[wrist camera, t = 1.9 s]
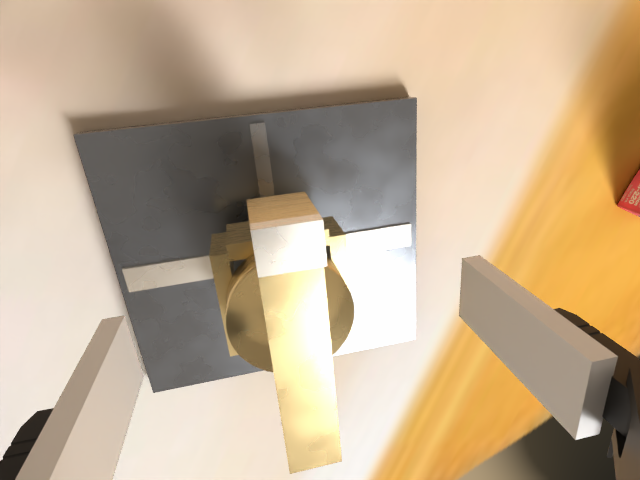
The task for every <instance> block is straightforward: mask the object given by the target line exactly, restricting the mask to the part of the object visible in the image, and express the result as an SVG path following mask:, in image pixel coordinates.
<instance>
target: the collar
mask: <svg viewBox="0 0 640 480" xmlns="http://www.w3.org/2000/svg"><path fill="white" fill-rule="evenodd" d="M246 201H247V208H248V216H249V221H247V222H240V223H233V224H226V232H223V233H217V234H212V236H211V245H210V254H209V258H210V263H211V267H212V272H213V277H214V282H215V287H216V291H217V296H218V301H219V306H220V311H221V315H222V320H223V325H224V330H225V334H226V339H227V344H228V349H229V354H230V356H236V355H239V356H240V357H241V358H243V359H244V360H245V361H246V362H248V363H249V364H251V365H253V366H255V367H257V368H259V369H262V370H265V371H269V372H274V378H275V384H276V390H277V396H278V403H279V409H280V415H281V421H282V427H283V433H284V440H285V446H286V452H287V458H288V464H289V471H290V474H292V473H296V472H300V471H304V470H308V469H312V468H316V467H320V466H324V465H328V464H333V463H337V462H341V461H342V458H341V447H340V436H339V425H338V414H337V403H336V392H335V381H334V370H333V359H332V355H333V354H335V353H336V352H337V351H338V350H339V349H340V347H341V346H342V345H343V344H344V342H345V341H346V339H347V337H348V336H349V333H353V331H352V325H353V322H354V313H355V308H354V301H353V298H352V294H351V292H350V286H349V271H348V256H347V241H346V234H345V233H344V231H343V230H342V228H341V227H340V226H339V224H338V223H337V222H336V220H335V219H334V218H333V216H330V217H324V218H322V217H321V215H320V214H319V212H318V211H317V209H316V208H315V206H314V205H313V203H312V202H311V200H310V199H309V197H308V196H307V194H306V193H305V192H298V193H290V194H283V195H276V196H269V197H262V198H254V199H247V200H246ZM242 259H245V260H244V261H243V262H242V263H241V264H240V265H239V267H238V268H237V269H236V271H235V268H234V262H233V261H236V260H242Z"/></svg>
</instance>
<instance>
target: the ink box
mask: <svg viewBox="0 0 640 480" xmlns="http://www.w3.org/2000/svg"><path fill="white" fill-rule="evenodd" d="M617 206H618V207H620V208H622V209H624V210H626V211H628V212H630V213H632V214H634V215H637V216H639V217H640V169H639V171H638V172H637V174H636V175H635V177H634V178H633V180H632V182H631V183H630V185H629V186H628V188H627V189H626V191H625V193H624V194H623V196H622V198H621V199H620V201H619V203H618V205H617Z"/></svg>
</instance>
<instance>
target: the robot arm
mask: <svg viewBox="0 0 640 480" xmlns="http://www.w3.org/2000/svg"><path fill="white" fill-rule="evenodd" d="M459 316H460V317H461V318H462V319H463V320H464V321H465V323H466V324H467V325H468V326H469V327H470V328H471V329H472V330H473V331H474V332H475V333H476V334H477V335H478V336H479V337H480V339H481V340H482V341H483V342H484V343H485V344H486V345H487V346H488V347H489V348H490V349H491V350H492V351H493V352H494V353H495V355H496V356H497V357H498V358H499V359H500V360H501V361H502V362H503V363H504V364H505V365H506V366H507V367H508V368H509V369H510V371H511V372H512V373H513V374H514V375H515V376H516V377H517V378H518V379H519V380H520V381H521V382H522V383H523V384H524V385H525V386H526V388H527V389H528V390H529V391H530V392H531V393H532V394H533V395H534V396H535V397H536V398H537V399H538V400H539V401H540V402H541V404H542V405H543V406H544V407H545V408H546V409H547V410H548V411H549V412H550V413H551V414H552V415H553V416H554V417H555V418H556V419H557V421H558V422H559V423H560V424H561V425H562V426H563V427H564V428H565V429H566V430H567V431H568V432H569V433H570V434H571V435H572V437H573V438H575V440H577V439H581V438H585V437H589V436H593V435H597V434H599V432H600V429H601V424H602V420H603V418H605V419H606V420H607V421H608V422H609V423H610V424H611V425H612V426H613V427H614V431H613V435H612V438H611V443H610V446H609V450H608V454H607V457H609V458H612V455H613V454H614V464H615V474H616V480H640V359H639V358H637V357H636V356H634V355H633V354H632V353H630V352H629V351H627V350H626V349H624V348H623V347H621V346H620V345H619V344H617V343H616V342H614V341H613V340H611V339H610V338H609V337H607V336H606V335H604V334H603V333H600V331H599V330H597V329H596V328H594V327H593V326H590V325H589V323H587V322H586V321H584V320H583V319H581V318H580V317H579V316H577V315H575V314H573V313H570V312H568V311H566V310H563V309H561V308H557V309H552V308H551V307H550V306H548V305H547V304H545V303H544V302H543V301H541V300H540V299H539V298H537V297H536V296H535V295H533V294H532V293H530V292H529V291H528V290H526V289H525V288H524V287H522V286H521V285H519V284H518V283H517V282H515V281H514V280H513V279H511V278H510V277H509V276H507V275H506V274H504V273H503V272H502V271H500V270H499V269H498V268H496V267H495V266H493V265H492V264H491V263H489V262H488V261H487V260H485V259H484V258H482V257H481V256H480V255H479V256H473V257H467V258H462V272H461V290H460V309H459ZM143 377H144V375H143V372H142V369H141V366H140V363H139V359H138V356H137V353H136V350H135V347H134V344H133V340H132V337H131V334H130V331H129V328H128V325H127V322H126V318H125V316H119V317H113V318H107V319H102V321H101V322H100V324H99V326H98V328H97V330H96V332H95V334H94V335H93V337H92V339H91V341H90V343H89V345H88V346H87V348H86V350H85V352H84V354H83V356H82V357H81V359H80V361H79V363H78V365H77V367H76V368H75V370H74V372H73V374H72V376H71V378H70V380H69V381H68V383H67V385H66V387H65V389H64V391H63V392H62V394H61V396H60V398H59V400H58V402H57V403H56V405H55V407H54V408H52V409H47V410H42V411H37V412H36V413H35V414H34V415H33V416H32V417H31V418H30V419H29V420H28V421H27V422H26V423H25V424H24V425H23V426H21V428H20V429H19V431H18V433H17V434H16V436H15V438H14V439H13V441H12V443H11V446H9V447H8V449H7V451H6V452H5V454H4V456H3V460H1V461H0V480H112V479H113V476H114V473H115V470H116V466H117V463H118V460H119V456H120V453H121V450H122V446H123V443H124V440H125V436H126V433H127V430H128V427H129V423H130V420H131V417H132V413H133V410H134V407H135V403H136V400H137V397H138V393H139V390H140V387H141V383H142V380H143Z"/></svg>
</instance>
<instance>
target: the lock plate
mask: <svg viewBox="0 0 640 480" xmlns="http://www.w3.org/2000/svg"><path fill="white" fill-rule="evenodd" d="M416 125H417V98H415V97H405V98H395V99H386V100H377V101H367V102H358V103H349V104H339V105H330V106H321V107H311V108H302V109H293V110H283V111H274V112H265V113H255V114H246V115H237V116H227V117H218V118H209V119H199V120H190V121H181V122H171V123H162V124H153V125H143V126H134V127H125V128H115V129H106V130H97V131H87V132H79V133H77V134H74V138H75V142H76V145H77V148H78V151H79V154H80V158H81V161H82V164H83V167H84V171H85V174H86V177H87V180H88V184H89V187H90V190H91V193H92V196H93V200H94V203H95V206H96V209H97V213H98V216H99V219H100V222H101V225H102V229H103V232H104V235H105V238H106V242H107V245H108V248H109V251H110V254H111V258H112V261H113V264H114V267H115V271H116V274H117V277H118V280H119V283H120V287H121V290H122V293H123V296H124V300H125V303H126V306H127V309H128V312H129V316H130V319H131V322H132V325H133V329H134V332H135V335H136V338H137V342H138V345H139V348H140V351H141V354H142V358H143V361H144V364H145V367H146V371H147V374H148V377H149V380H150V383H151V387H152V390H153V393H155V392H160V391H165V390H170V389H175V388H179V387H184V386H189V385H194V384H199V383H204V382H209V381H214V380H219V379H224V378H228V377H233V376H238V375H243V374H248V373H253V372H258V371H263V370H262V369H259V368H257V367H255V366H253V365H251V364H249V363H248V362H246V361H245V360H244V359H243V358H241V357H240V356H239V355H236V356H230V354H229V349H228V344H227V339H226V334H225V330H224V325H223V320H222V315H221V311H220V306H219V301H218V296H217V291H216V287H215V282H214V277H213V272H212V267H211V263H210V258H209V254H210V245H211V236H212V234H217V233H223V232H226V224H233V223H240V222H247V221H249V216H248V208H247V201H246V200H247V199H254V198H262V197H269V196H276V195H283V194H290V193H298V192H305V193H306V194H307V196H308V197H309V199H310V200H311V202H312V203H313V205H314V206H315V208H316V209H317V211H318V212H319V214H320V215H321V217H322V218H324V217H330V216H333V218H334V219H335V220H336V222H337V223H338V224H339V226H340V227H341V228H342V230H343V231H344V233H345V234H346V241H347V256H348V271H349V286H350V292H351V294H352V298H353V301H354V308H355V313H354V322H353V325H352V331H353V333H349V336H348V337H347V339H346V341H345V342H344V344H343V345H342V346H341V347H340V349H339V350H338V351H337V352H336V353H335V354H333V355H332V356H336V355H341V354H346V353H351V352H356V351H361V350H366V349H371V348H376V347H380V346H385V345H390V344H395V343H400V342H405V341H410V340H415V339H416ZM244 260H245V259H242V260H236V261H233V262H234V268H235V271H236V269H237V268H238V267H239V265H240V264H241V263H242V262H243V261H244Z"/></svg>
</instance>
